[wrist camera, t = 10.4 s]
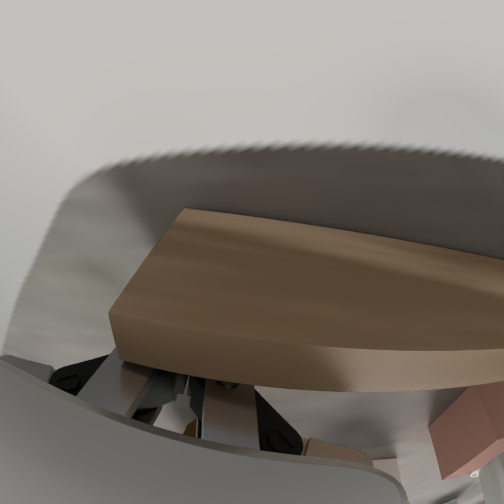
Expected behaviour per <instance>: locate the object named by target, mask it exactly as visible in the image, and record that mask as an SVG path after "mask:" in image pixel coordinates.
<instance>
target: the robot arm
mask: <svg viewBox="0 0 504 504" xmlns="http://www.w3.org/2000/svg"><path fill="white" fill-rule="evenodd" d="M188 377H189V384H188V392H187V396H191V399H190V408H191V409H192V410H193V412H194V413H195V414H196V416H197V428H196V438H195V437H191V436H187V435H183V434H179V433H176V432H172V431H169V430H165V429H162V428H158V427H155V426H153V424H154V422H155V420H156V419H157V417H158V415H159V413H160V411H161V409H162V405H164V404H166V403H169V402H171V401H172V400H174V401H175V400H176V397H177V394H178V393H179V394H183V393H184V390H185V386H186V383H187V380H188ZM468 474H469V477H477V476H479V478H480V482H481V486H482V490H483V494H484V498H485V502H486V504H504V451H502V452H501V453H500V454H499V455H497V456H496V457H495V458H493V459H492V460H491V461H489V462H488V463H487V464H485V465H484V466H482V467H481V468H480V469H478V470H477V471H473V472H470V473H468ZM0 504H409V501H408V498H407V495H406V492H405V490H404V488H403V486H402V485H401V484H400V482H399V481H398V480H397V479H396V478H394V477H393V476H391V475H389V474H388V473H386V472H384V471H382V470H379V469H377V468H374V466H373V462H372V460H371V458H370V457H369V456H368V455H367V454H366V453H364V452H362V451H359V450H355V449H351V448H347V447H343V446H339V445H335V444H331V443H328V442H324V441H321V440H317V439H314V438H311V437H310V439H309V440H308V439H305V438H301V436H300V435H299V434H298V432H297V431H296V430H295V429H294V428H293V427H292V426H291V425H290V424H289V423H288V422H287V421H286V420H285V419H284V418H282V417H281V415H280V414H279V413H278V412H277V411H276V410H275V409H274V408H273V407H272V406H271V405H270V404H269V403H268V402H267V401H266V400H265V399H264V398H263V397H262V396H261V395H260V394H259V393H258V392H257V391H256V390H255V388H254V385H249V384H241V383H234V382H227V381H220V380H214V379H208V378H202V377H196V376H191V375H190V376H189V375H186V374H181V373H176V372H171V371H166V370H161V369H157V368H152V367H148V366H144V365H140V364H136V363H132V362H128V361H124V360H120V359H119V355H118V352H117V348H116V347H115V349H114V350H113V351H112V352H111V354H109V355H105V356H102V357H98V358H95V359H91V360H88V361H84V362H80V363H77V364H73V365H69V366H65V367H62V368H60V369H58V370H55V369H53V367H52V366H49V365H45V364H41V363H37V362H33V361H30V360H26V359H22V358H19V357H15V356H12V355H3V356H0Z"/></svg>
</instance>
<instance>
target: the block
mask: <svg viewBox="0 0 504 504" xmlns="http://www.w3.org/2000/svg"><path fill="white" fill-rule="evenodd" d="M428 428H429V432H430V435H431V438H432V442H433V446H434V449H435V453H436V457H437V461H438V465H439V469H440V473H441V477H442V480H444V479H448V478H452V477H456V476H460V475H463V474H467V473H470V472H473V471H477V470H478V469H480V468H481V467H482V466H484V465H485V464H487V463H488V462H489V461H491V460H492V459H493V458H495V457H496V456H497V455H499V454H500V453H501V452H502V451H504V381H499V382H493V383H487V384H480V385H472V386H469V387H468V388H467V389H466V390H465V391H464V392H463V393H462V394H461V395H460V396H459V397H458V398H457V399H456V400H455V402H454V403H453V404H452V405H451V406H450V407H449V408H448V409H447V410H446V411H445V412H443V413H442V414H441V415H440V416H439V417H438V418H437V419H436V420H435V421H434V422H433V423H432V424H431V425H430V426H429V427H428Z"/></svg>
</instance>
